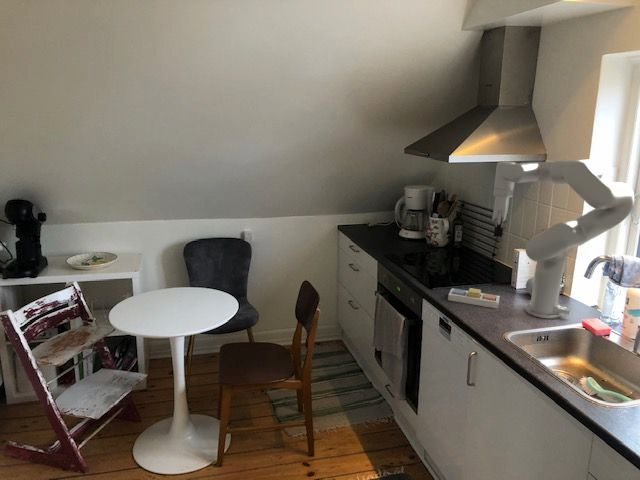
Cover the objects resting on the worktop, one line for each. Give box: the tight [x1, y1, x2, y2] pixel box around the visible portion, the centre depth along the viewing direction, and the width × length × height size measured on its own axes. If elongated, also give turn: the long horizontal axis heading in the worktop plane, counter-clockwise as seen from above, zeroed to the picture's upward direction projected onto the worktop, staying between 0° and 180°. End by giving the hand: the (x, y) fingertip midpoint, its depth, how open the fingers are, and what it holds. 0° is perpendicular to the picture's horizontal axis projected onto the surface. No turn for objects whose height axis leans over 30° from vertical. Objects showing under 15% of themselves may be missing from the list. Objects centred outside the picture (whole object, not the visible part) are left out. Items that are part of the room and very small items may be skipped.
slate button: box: [453, 288, 467, 296], centre depth 209 cm, size 4×4×3 cm
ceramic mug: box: [525, 276, 534, 296], centre depth 213 cm, size 11×8×8 cm
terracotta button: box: [483, 293, 496, 301], centre depth 204 cm, size 4×4×3 cm
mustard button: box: [467, 287, 482, 298], centre depth 206 cm, size 4×4×3 cm
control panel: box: [447, 287, 501, 309], centre depth 207 cm, size 19×8×2 cm, turn 67°
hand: (498, 236), depth 210 cm, fingers closed
